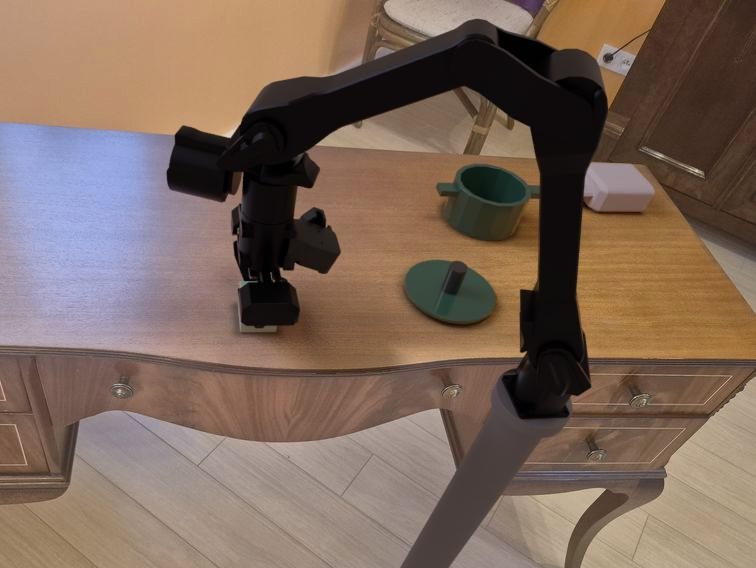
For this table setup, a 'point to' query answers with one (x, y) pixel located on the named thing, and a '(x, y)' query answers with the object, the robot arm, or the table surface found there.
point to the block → (251, 328)
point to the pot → (486, 201)
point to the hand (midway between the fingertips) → (257, 313)
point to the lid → (449, 291)
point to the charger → (616, 188)
